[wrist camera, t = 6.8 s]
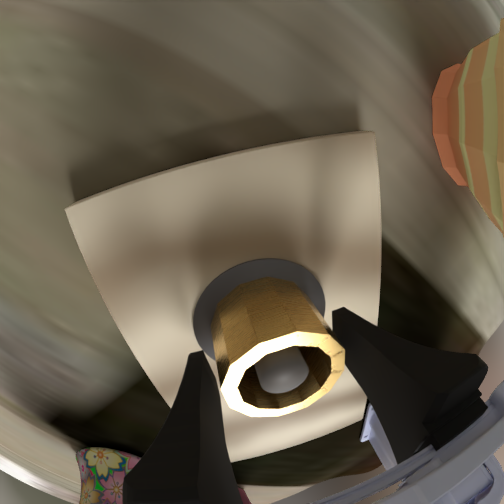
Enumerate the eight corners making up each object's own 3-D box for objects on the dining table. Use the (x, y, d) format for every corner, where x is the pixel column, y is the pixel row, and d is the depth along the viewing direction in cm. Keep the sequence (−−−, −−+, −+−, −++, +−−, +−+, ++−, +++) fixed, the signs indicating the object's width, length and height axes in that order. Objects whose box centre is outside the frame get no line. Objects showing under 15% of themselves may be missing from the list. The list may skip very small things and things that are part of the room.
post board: (357, 410, 23) (380, 450, 18) (216, 454, 21) (225, 500, 17) (360, 130, 12) (436, 138, 8) (74, 202, 11) (18, 244, 6)
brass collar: (313, 341, 15) (343, 393, 12) (226, 367, 15) (239, 426, 11) (304, 265, 13) (345, 314, 9) (199, 295, 13) (205, 357, 9)
